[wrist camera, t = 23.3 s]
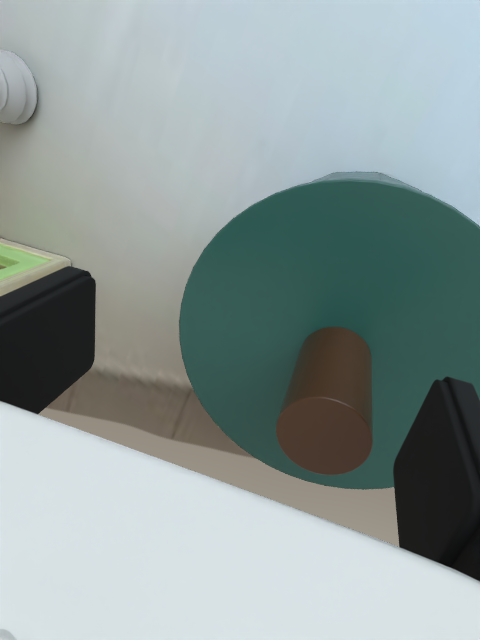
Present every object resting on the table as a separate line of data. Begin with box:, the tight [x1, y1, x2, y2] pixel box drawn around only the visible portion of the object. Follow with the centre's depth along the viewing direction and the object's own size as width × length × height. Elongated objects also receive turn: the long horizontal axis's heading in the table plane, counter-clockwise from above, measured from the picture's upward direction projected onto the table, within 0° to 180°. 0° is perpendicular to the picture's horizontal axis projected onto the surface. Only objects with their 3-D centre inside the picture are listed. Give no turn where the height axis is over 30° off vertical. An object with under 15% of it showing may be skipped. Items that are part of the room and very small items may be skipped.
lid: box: [179, 178, 480, 489], centre depth 15 cm, size 14×14×6 cm
